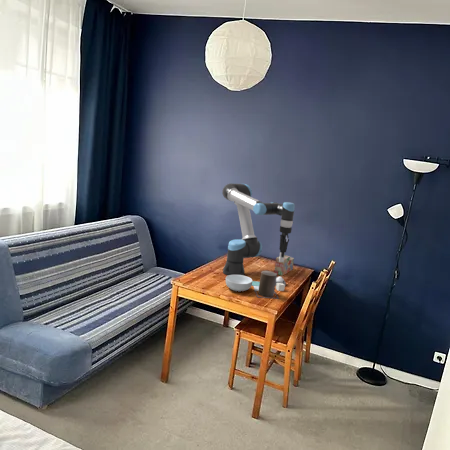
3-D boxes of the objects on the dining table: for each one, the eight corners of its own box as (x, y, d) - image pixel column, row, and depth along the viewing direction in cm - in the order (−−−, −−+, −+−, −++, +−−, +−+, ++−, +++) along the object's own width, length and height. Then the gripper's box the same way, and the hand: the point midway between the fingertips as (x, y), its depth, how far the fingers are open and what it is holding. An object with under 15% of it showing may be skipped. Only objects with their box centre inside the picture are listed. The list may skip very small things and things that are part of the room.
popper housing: (275, 285, 274) (275, 282, 274) (272, 281, 281) (273, 278, 280) (285, 286, 275) (285, 282, 274) (283, 282, 282) (283, 279, 281)
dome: (276, 284, 275) (277, 277, 274) (274, 281, 280) (275, 275, 279) (283, 284, 276) (284, 278, 275) (282, 282, 280) (282, 275, 280)
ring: (257, 297, 249) (257, 296, 249) (254, 289, 261) (254, 289, 261) (278, 298, 250) (278, 298, 250) (274, 291, 263) (274, 290, 263)
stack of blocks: (284, 267, 318) (287, 252, 316) (292, 269, 315) (294, 254, 313) (273, 273, 300) (276, 257, 297) (281, 276, 297) (284, 259, 294)
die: (278, 291, 264) (279, 285, 264) (275, 288, 268) (276, 282, 267) (284, 290, 266) (284, 284, 265) (281, 288, 269) (282, 282, 269)
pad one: (255, 290, 260) (255, 290, 260) (253, 286, 268) (253, 285, 268) (269, 291, 261) (269, 291, 261) (266, 287, 269) (266, 286, 269)
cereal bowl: (223, 283, 266) (224, 273, 265) (249, 285, 268) (250, 275, 266) (225, 293, 250) (226, 282, 248) (252, 295, 251) (254, 284, 250)
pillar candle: (261, 297, 250) (264, 273, 247) (255, 291, 259) (259, 268, 256) (276, 297, 253) (279, 273, 250) (270, 291, 262) (273, 268, 259)
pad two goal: (250, 285, 268) (250, 285, 268) (248, 281, 277) (248, 280, 277) (264, 286, 269) (264, 286, 269) (261, 282, 278) (262, 281, 278)
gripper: (294, 229, 262) (289, 264, 267) (288, 224, 275) (284, 259, 279) (283, 228, 261) (278, 264, 265) (277, 223, 274) (273, 258, 278)
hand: (281, 261), depth 272 cm, fingers closed
